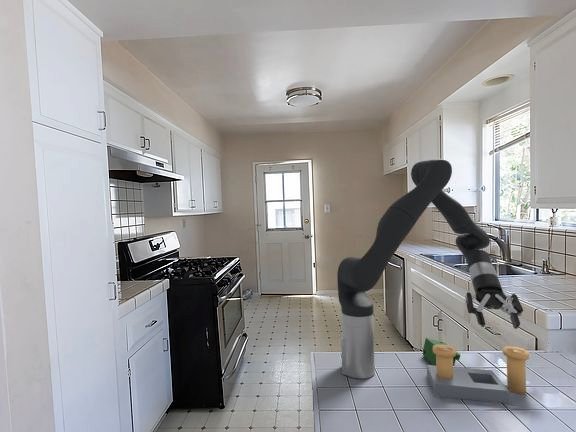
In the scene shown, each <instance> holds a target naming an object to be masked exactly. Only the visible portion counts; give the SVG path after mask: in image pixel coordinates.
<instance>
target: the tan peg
mask: <svg viewBox="0 0 576 432" xmlns="http://www.w3.org/2000/svg"><path fill="white" fill-rule="evenodd" d="M502 354H503V356H505V357H506V381H507V382H506V386H507V387H506V388H507V389H508V390H509V392H513V393H516V394H520V395H522V394H523V395H524V394H527V372H526V367H527V365H526V361H527V360H529V359H530V352H529V351H528V350H526V349H525V348H521V347H517V346H504V347H503V348H502Z"/></svg>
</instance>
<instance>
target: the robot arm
mask: <svg viewBox="0 0 576 432" xmlns="http://www.w3.org/2000/svg"><path fill="white" fill-rule="evenodd" d="M452 173H453V167H452V164H451V163H450V162H449V161H448V160H447V159H445V158H433V159H427V160H421V161H418V162H416V163H415V164H414V165H413V166H412V168H411V171H410V176H411V177H410V178H411V180H412V182H413V184H414V185H415V187H414V188H412V189H411V190H410V191H409V192H407V193H405V194H404V195H403V196H401V197H399V198H398V199H396V201H394V202H393V203H392V204H391V205H390V206H389V207H388V208H387V209H386V211H385V212H384V214H382V217H381V218H380V219H379V221H378V223H377V228H376V234H375V237H374V238H375V239H374V241H373V243H372V245H371V246H370V248H369V249H368V250H367V251H366V253H365V254H364V255H363V256H362V257H361V258H360V257H355V256H349V257H345V258H344V259H342V260H341V262H340V263H339V265H338V268H337V273H336V276H337V278H336V280H337V281H336V282H337V292H338V293H337V294H338V296H337V297H338V302H339V305H340V307H341V340H340V343H341V351H340V352H341V375H345V376H348V377H350V378H353V379H362V380H363V379H369V378H371V377H373V376H375V368H376V367H375V366H376V365H375V364H376V363H375V322H374V321H375V317H374V314H375V313H374V311H375V310H374V304H373V302H372V301H371V300H370V299H369V297H368V295H367V293H366V292H368V291H370V290H372V289H373V288H374V287H375V286H376V285H377V284H378V282H379V280H380V278H381V277H382V275H383V273H384V272H385V270H386V268H387V266H388V264H389V262H390V261H391V259H392V257H393V256H394V254H395V253H396V252H397V250H398V249H399V247H400V246H401V244H402V243H403V241H404V240H405V239H406V237H407V236H408V234H409V233H410V232H411V231H412V229H413V228H414V226H415V225H416V223H417V222H418V220H419V219H420V217H421V216H423V213H424V212H425V211H426V209H428V207H429V206H430V204H433V206H434V207H435V208H436V209H437V210H438V211H439V212H440V214H441V215H442V216H443V218H444V219H445V221H446V223H448V225H449V227H450V229H451V230H452V231H453V233H455V234H456V235H457V234H458V235H457V237H456V238H455V245H456V247H457V248H458V250H459V251H460V252H461V254H462V255H463V257H464V259H465V261H466V263H467V267H468V270H469V277H470V281H471V284H472V286H473V290H474V293H475V294H473V293H471V292H469V291H468V292H466V294H465V303H466V308H467V309H466V310H467V313H469V314H473V315H475V318H476V321H477V324H478V325H479V326H480V327H481V328H482V327H483V328H484V327H486V320H485V317H484V313H483V310H484V308H485V309H487V310H501V311H502V312H503V313H506V314H507V315H508V316H510V317H509V318H510V320H511V324H512V326H513V329H516V330H517V329H518V328H519V327H520V325H521V320H520V318H519V317H520V316H522V313H523V312H524V308H523V306H522V304H521V302H520V299H519V298H518V295H517V294H516V293H512V294H511V295H506V294H505V293H504V291H503V288H502V287H503V286H502V285H501V282H500V280H499V276H498V273H497V271H496V269H495V268H494V265H493V262H492V260H491V256H490V255H489V253H488V252H487V251H485V250H482V249H485V248H487V247H488V246H490V241H491V238H490V236H489V233H487V232H486V231H485V230H484V229H483V228H481V226H479V225H478V224H476V222H475V221H473V219H472V217H471V216H470V214H469V213H468V211H467V210H466V208H465V207H464V206H463V205H462V204H461V203H460V202H459V201H458V200H456V199H455V198H453V197H452V196H450V195H449V194H448V193H447V192H445V191H444V188H446V186H447V185H448V183H449V182H450V180H451V179H452ZM474 300H475V301H477V302H478V303H479V304H478V305H477V307H474ZM511 305H512V306H511Z"/></svg>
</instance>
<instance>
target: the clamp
mask: <svg viewBox="0 0 576 432" xmlns="http://www.w3.org/2000/svg"><path fill="white" fill-rule="evenodd" d="M438 344H441V345H448V344H447V343H446V342H443V341H442V340H437V339H433V338H429V337H425V340H424V345H423V347H422V348H423V349H422V356H423V357H424V358H425V359H426V360H427V361H428V362H429V363H430V365H435V366H436V354H434V353H433V346H434V345H438ZM460 358H461V354H460V353H459V352H458V351H456V356H455V357H453V366H454V367H455V365H456V361H460V360H461V359H460Z"/></svg>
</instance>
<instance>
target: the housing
mask: <svg viewBox="0 0 576 432" xmlns="http://www.w3.org/2000/svg"><path fill="white" fill-rule="evenodd" d="M456 352H457V348H455V347H453V346H451V345H449V344H447V345H441V344H438V345H434V346H433V353H434V354H436V366H435V365H432V364H426V376H428V377H427V379H428V381H430V382H429V383H430V387H431V389H432V391H433V394H434V396H435V397H442V398H452V399H461V400H463V399H464V400H470V399H471V400H472V401H481V402H492V403H498V404H502V403H503V404H510V390H509V389H508V388H507V387H506V385H505V383H503V382H502V380H501V379H500V378H499V377H498V376H497V374H496V373H495V371H493V370H492V369H481V368H471V367H470V368H469V367H458V366H454V367H453V357H455V356H456Z"/></svg>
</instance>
